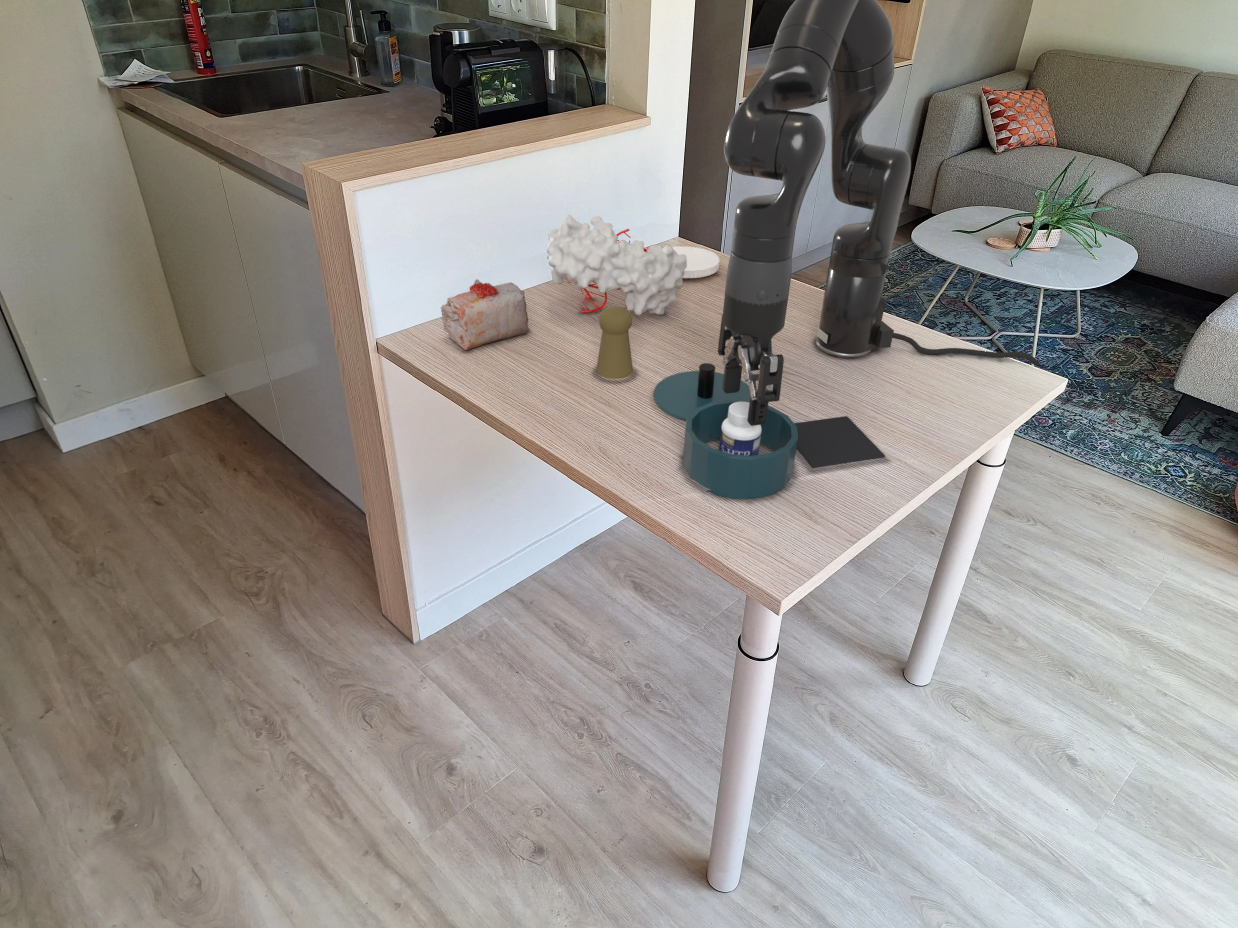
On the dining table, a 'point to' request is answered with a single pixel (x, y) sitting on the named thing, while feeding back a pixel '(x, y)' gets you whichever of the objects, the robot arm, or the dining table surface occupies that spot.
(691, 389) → the pot lid
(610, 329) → the olive game pawn
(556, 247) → the molecular structure model
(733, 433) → the pill bottle
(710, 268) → the plastic lid
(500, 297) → the food item
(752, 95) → the robot arm
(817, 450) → the plate
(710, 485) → the pot
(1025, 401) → the dining table surface
